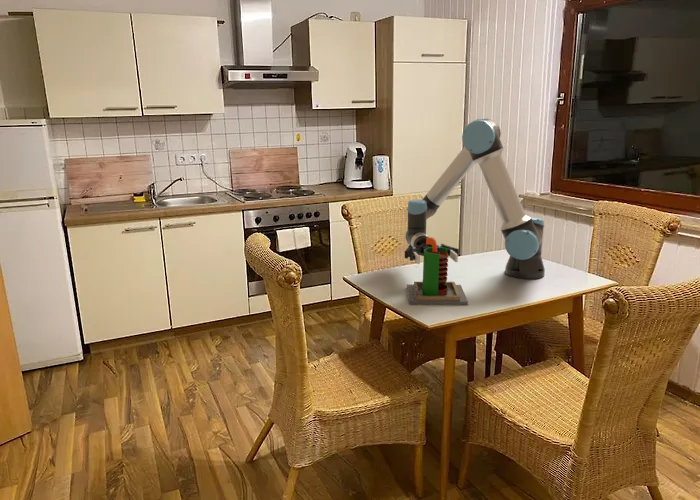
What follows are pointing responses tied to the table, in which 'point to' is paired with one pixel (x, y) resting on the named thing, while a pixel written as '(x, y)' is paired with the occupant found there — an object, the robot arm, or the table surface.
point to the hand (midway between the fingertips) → (437, 259)
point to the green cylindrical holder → (435, 269)
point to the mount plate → (452, 298)
